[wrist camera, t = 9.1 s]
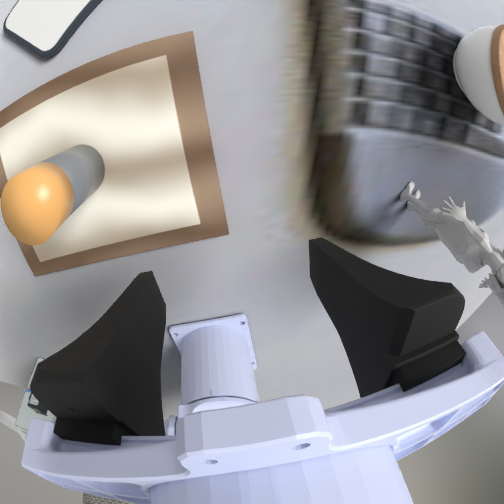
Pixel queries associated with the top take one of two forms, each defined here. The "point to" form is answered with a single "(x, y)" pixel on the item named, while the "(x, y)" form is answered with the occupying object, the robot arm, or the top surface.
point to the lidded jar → (482, 70)
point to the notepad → (123, 153)
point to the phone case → (47, 23)
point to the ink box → (31, 410)
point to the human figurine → (461, 238)
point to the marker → (50, 193)
